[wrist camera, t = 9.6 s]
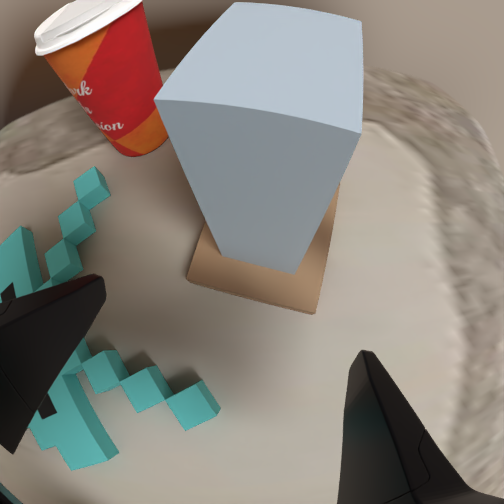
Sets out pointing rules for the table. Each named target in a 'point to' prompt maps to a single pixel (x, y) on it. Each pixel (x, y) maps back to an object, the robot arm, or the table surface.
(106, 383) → the alien figure
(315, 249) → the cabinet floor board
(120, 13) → the paper cup
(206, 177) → the pale blue upright block
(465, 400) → the table surface
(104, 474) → the table surface
